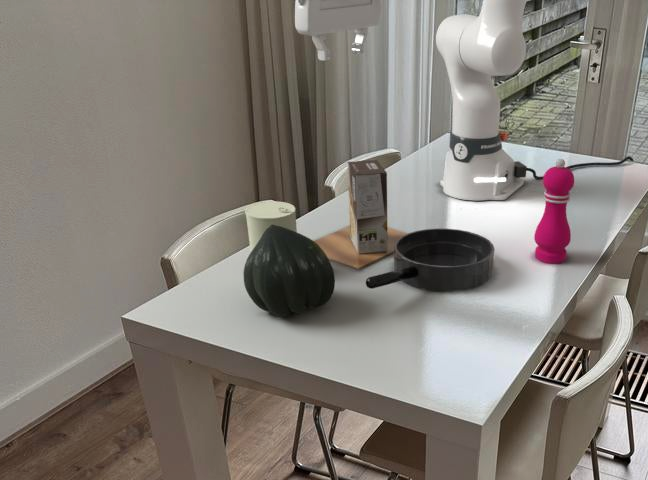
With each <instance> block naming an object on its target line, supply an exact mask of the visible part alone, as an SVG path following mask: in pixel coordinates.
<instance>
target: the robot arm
mask: <svg viewBox="0 0 648 480" xmlns="http://www.w3.org/2000/svg"><path fill="white" fill-rule="evenodd" d="M527 1H528V0H482V4H481V10H480V12H479V15H473V14H468V13H461V14H454V15H450V16H448V17H446V18H444V19H443V20H442V22H440V24H439V26H438V28H437V31H436V34H435V44H436V48H437V50H438V53H439V54H440V56H441V57H442V59H443V62H444V64H445V69H446V71H447V76H448V80H449V86H450V92H451V100H452V108H451V109H452V111H451V112H452V113H451V114H452V115H451V118H452V119H451V131H450V132H449V138H448V139H449V140H448V141H449V149H450V150H449V151H448V152H447V153H446V155H445V164H444V173H443V179H440V180H439V181H440V182H439V185H440V186H441V187H442V190H443V193H444V194H445V195H446V196H449V197H451V198H455V199H459V200H462V201H463V200H464V201H476V202H477V201H490V200H491V201H505V200H507V199H508V198H509V197H511V195H513V194H514V193H515V192H516V191H518V190H519V189H520V188H521V187H522V186H523V185H524V184H525V181H524V179H523V178H526V177H527V172H531V173H532V176H533V178H534V179H535V180H543V177H544V175H543V176H537V171H536V170H535V169H533V168H530V167H527V165H525V164H524V163H522V162H521V161H519V160H518V161H515V160H514V158H512V157H511V156H510V155H509V154H508V153H507V152H506V151H505V150H504V149H503V144H502V142H506V141H507V140H508V137H509V133H508V132H506V131H500V119H501V118H500V117H501V98H500V96H499V94H498V92H497V90H496V87H495V86H494V83H493V79H492V77H501V76H503V77H504V76H510V75H512V74H514V73H516V72H517V71H518V70H519V69H520V68H521V66H522V65H523V63H524V61H525V58H526V54H527V42H526V39H525V36H524V34H523V19H524V12H525V8H526V4H527ZM294 3H295V4H294V27H295V30H296V32H297V33H298V34H299V35H302V36H303V35H304V36H308V37H309V36H310V37H311V40H312V43H313V44H314V47H315V49H316V50H317V58H318V60H319V61H323V62H324V61H328V60H329V61H330V59H331V49H329V48H327V45H326V43H325V41H326V40H327V39H326V38H327V36H326V35H327V34H331V33H338V32H346V31H352V30H354V33H355V34H356V35H355V38H354V42H353V43H351V53H352V54H354V55H361V54H362V55H363V54H364V52H365V42H366V40H367V37H368V34H369V28H372V27H378V26H379V25H380V24H381V22H382V19H383V0H295V2H294ZM628 160H630V162H634V161H635V160H634V159H633V157H632V156H629V155H628V156H626V157H625V158H623V159H622V160H620V161H613V162H600V161H599V162H585V163H584V162H583V163H577V164H572V165H568V166H565V167H566V168H568V169H569V170H571V169H574V168H581V167H590V166H619V165H622V164H624V163H625V162H626V161H628Z"/></svg>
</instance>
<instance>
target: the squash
mask: <svg viewBox="0 0 648 480" xmlns="http://www.w3.org/2000/svg"><path fill="white" fill-rule="evenodd" d="M314 241H315V240H313V239H311V238H310V237H307V236H305V235H304V234H301V233H299V232H298V231H297V232H295V231H292V230H289V229H287V228H284V227H281V226H276V225H274V224H272V225H270V227H268V228H267V229H266V230H265V231H264V233H263V234H262V236H261V238H260V239H259V241H258V243H257V244H256V246H255V247H254V248H253V250H252V251H251V252H250V253H249V254H248V257H247V259H246V261H245V263H244V268H243V283H244V288H245V291H246V293H247V294H248V296H249V298H250V299H251V300H252V302H253V303H254V305H256V306H257V307H258V308H259V309H260V310H263V311H264V312H268V313H271V314H273V315H275V316H276V317H287V316H289V315H290V314H292V313H294V314H295V313H296V314H300V313H302V312H303V311H305V309H309V308H311V309H312V308H319V307H321V306H324V305H325V304H327V303H328V302H329V301H330V300H331V298H332V296H333V295H334V292H335V286H336V277H335V271H334V267H333V264H332V263H331V262H330V261H331V260H329V259H328V257H327V256H326V254H325V253H324V251H323V250H322V249H321V248H320V246H319V245H318V244H317V243H316V242H314Z"/></svg>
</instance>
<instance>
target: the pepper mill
mask: <svg viewBox="0 0 648 480" xmlns="http://www.w3.org/2000/svg"><path fill="white" fill-rule="evenodd" d="M566 167H567V166H566V161H565V159H563V158H557V160H556V161H555V166H552V167H550V168H548V169H547V170H546V171H545V173H544V174H543V176H544V177H543V176H542V177H543V179H542V185H543V187H544V189H545V190H544V192H543V194H544V195H543V199H544V200H545V206H544V211H543V214H542V217H541V218H540V221H539V223H538V224H537V226H536V228H535V231H534V236H533V240H534V242H535V244H536V245H537V246H536V247H535V250H534V257H535V259H536V260H537V261H539V262H541V263H544V264H552V265H553V264H562V263H564V262H565V261H566V259H567V253H568V252H567V249H566V248H567V247H568V246H569V244H570V243H571V238H572V233H571V228H570V225H569V221H568V218H567V217H568V216H567V206H568V203H569V202H570V200H571V198H570V196H571V192H570V191H572V189H573V188H574V186H575V175H574V172H573V171H571V169H568V168H566Z"/></svg>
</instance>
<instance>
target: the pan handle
mask: <svg viewBox="0 0 648 480" xmlns="http://www.w3.org/2000/svg"><path fill="white" fill-rule="evenodd" d="M417 276H418V270H417V268H416V267H413V266H412V267H408V268H404V269H400V270H396V271H394V270H392V271H388V272H385V273H381V274H380V273H379V274H377V275H373V276H369V277H368V278H366V280H365V286H366V287H367V288H368V289H370V290H372V289H377V288H380V287H383V286H384V287H385V286H387V285H392V284H395V283H400V282H403V280H407V279H410V278H414V277H417Z"/></svg>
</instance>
